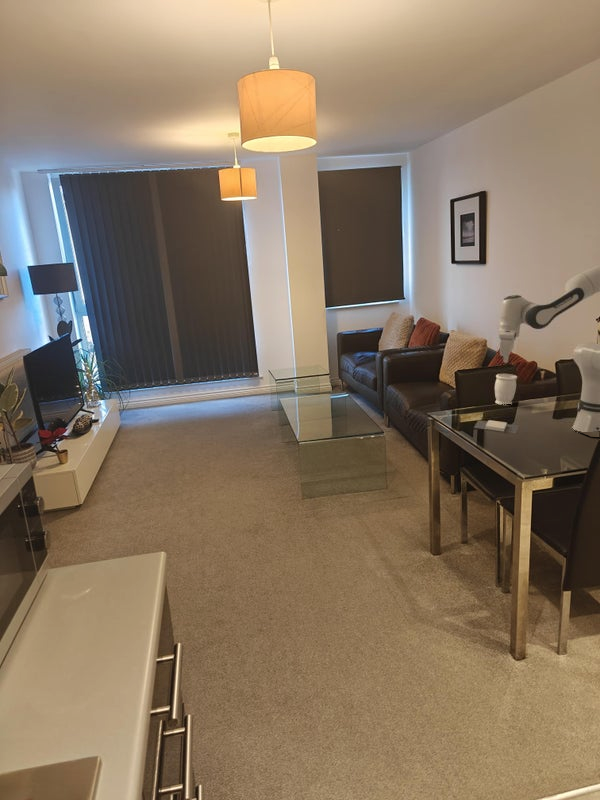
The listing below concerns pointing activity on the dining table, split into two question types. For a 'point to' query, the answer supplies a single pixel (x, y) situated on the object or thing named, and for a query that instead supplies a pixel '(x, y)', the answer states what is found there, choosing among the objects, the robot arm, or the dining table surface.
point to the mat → (508, 429)
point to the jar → (505, 388)
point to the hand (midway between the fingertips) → (505, 362)
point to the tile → (496, 425)
